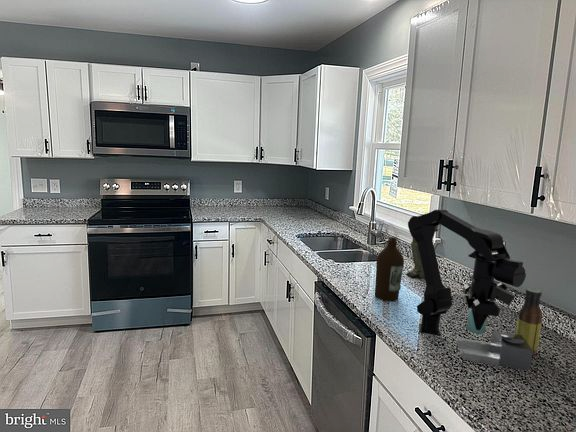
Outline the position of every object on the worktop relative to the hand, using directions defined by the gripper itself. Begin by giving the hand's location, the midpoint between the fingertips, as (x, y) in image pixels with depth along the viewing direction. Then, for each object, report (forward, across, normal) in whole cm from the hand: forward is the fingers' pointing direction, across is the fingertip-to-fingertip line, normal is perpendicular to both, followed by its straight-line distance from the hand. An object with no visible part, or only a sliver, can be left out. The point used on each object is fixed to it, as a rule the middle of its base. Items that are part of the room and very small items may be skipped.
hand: (475, 326), depth 118 cm
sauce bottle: (+9, +7, -17) cm, 20 cm away
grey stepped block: (+9, 0, -5) cm, 10 cm away
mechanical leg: (+9, +76, +9) cm, 77 cm away
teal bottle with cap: (+1, 0, 0) cm, 1 cm away
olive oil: (+9, +39, +25) cm, 47 cm away
